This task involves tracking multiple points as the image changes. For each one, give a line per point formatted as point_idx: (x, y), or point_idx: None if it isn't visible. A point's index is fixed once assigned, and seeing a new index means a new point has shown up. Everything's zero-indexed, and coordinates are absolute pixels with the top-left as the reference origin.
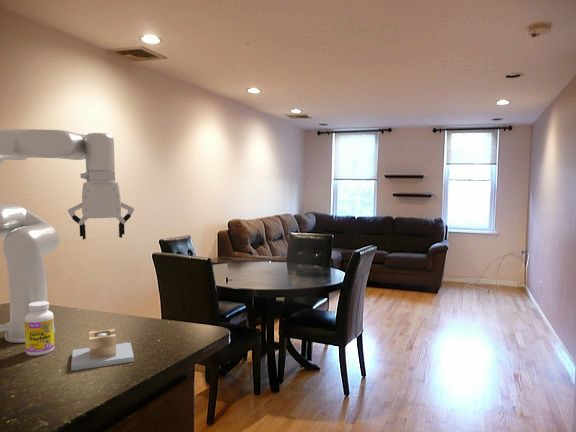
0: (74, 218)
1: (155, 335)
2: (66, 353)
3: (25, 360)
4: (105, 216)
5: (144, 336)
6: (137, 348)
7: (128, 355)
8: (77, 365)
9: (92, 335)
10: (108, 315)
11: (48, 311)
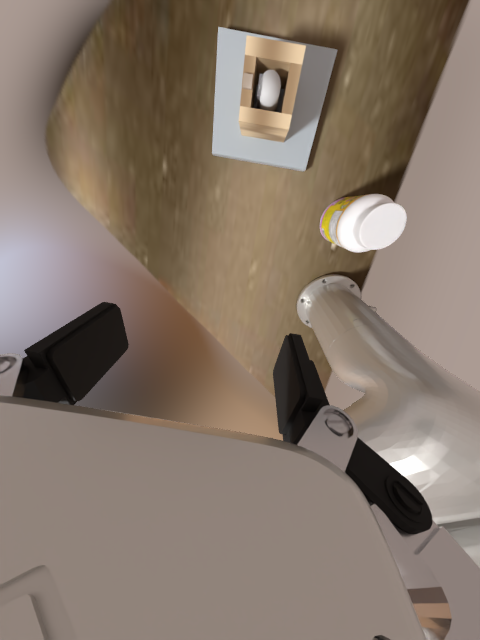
0: (404, 485)
1: (169, 199)
2: (310, 185)
3: (370, 186)
4: (83, 420)
5: (186, 205)
6: (204, 136)
7: (226, 48)
8: (325, 49)
9: (291, 84)
10: (222, 333)
11: (354, 221)
